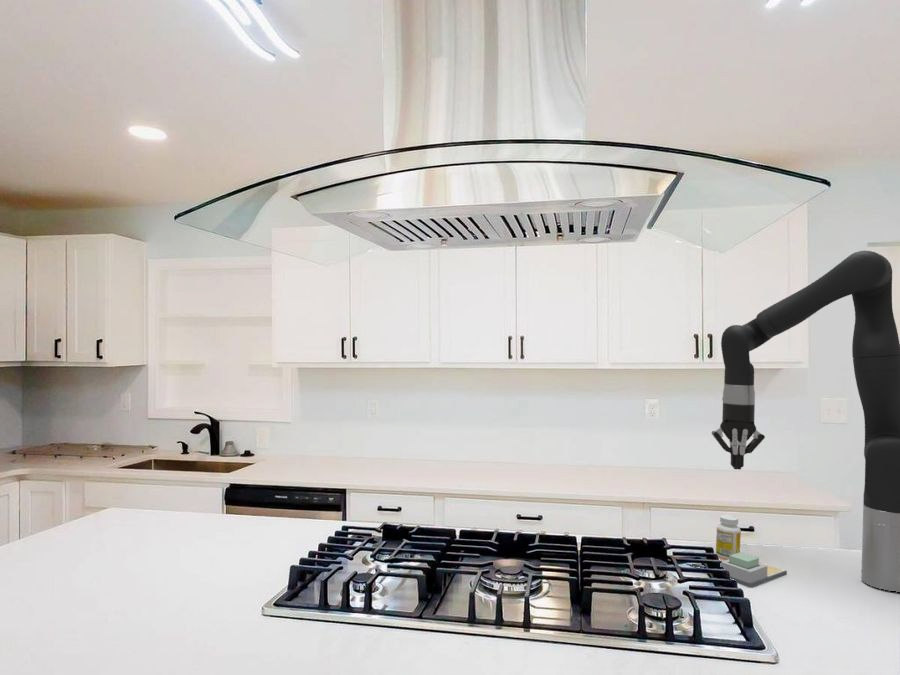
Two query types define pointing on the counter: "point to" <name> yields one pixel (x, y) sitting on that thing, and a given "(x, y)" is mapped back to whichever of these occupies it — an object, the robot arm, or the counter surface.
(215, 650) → the counter surface
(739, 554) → the button
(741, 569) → the grey tray
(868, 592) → the counter surface
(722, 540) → the supplement bottle
